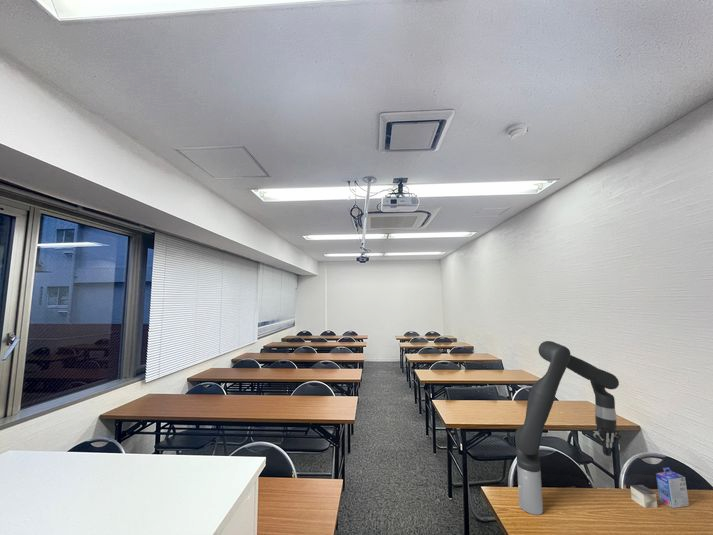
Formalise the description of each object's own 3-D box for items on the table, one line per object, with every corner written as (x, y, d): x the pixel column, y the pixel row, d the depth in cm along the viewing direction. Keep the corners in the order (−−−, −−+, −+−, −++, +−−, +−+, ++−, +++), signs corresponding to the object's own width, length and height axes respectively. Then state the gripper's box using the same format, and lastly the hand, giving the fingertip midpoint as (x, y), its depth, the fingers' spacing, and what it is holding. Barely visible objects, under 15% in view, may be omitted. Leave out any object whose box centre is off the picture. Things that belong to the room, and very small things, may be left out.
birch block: (655, 493, 132) (657, 507, 131) (642, 484, 138) (643, 498, 137) (643, 493, 132) (644, 508, 131) (630, 485, 138) (631, 499, 137)
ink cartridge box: (674, 498, 138) (670, 465, 139) (689, 506, 132) (685, 471, 134) (658, 500, 136) (654, 467, 137) (672, 508, 130) (668, 474, 132)
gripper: (599, 419, 132) (601, 459, 131) (626, 419, 134) (628, 459, 132) (585, 412, 140) (586, 450, 138) (610, 412, 141) (612, 450, 139)
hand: (607, 455), depth 135 cm, fingers closed
